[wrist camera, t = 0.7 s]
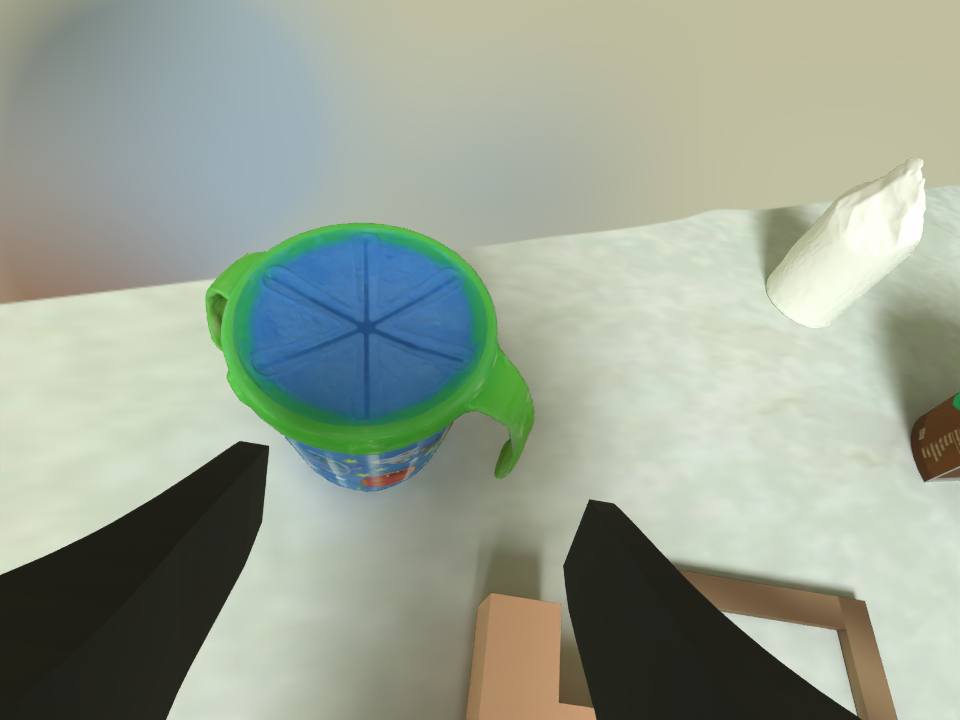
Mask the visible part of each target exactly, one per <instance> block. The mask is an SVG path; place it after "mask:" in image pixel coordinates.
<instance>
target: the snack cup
mask: <svg viewBox="0 0 960 720" xmlns="http://www.w3.org/2000/svg"><path fill="white" fill-rule="evenodd" d="M206 312H207V321H208V327H209V331H210V334H211V339H212V340H213V342H214V343H215V344H216V346H217V347H218V348H219V349H220V350H222V351H223V354H224V357H225V359H226V363H227V366H228V369H229V371H228V374H227V380H228V382H229V384H230V386H231V388H232V390H233V391H234V393H235V394H236V395H237V397H238V398H239V400H240V401H241V402H243V403H244V404H246V405H247V406H249V407H251V408H252V409H253V411H254V412H255V413H256V414H257V415H258V416H259V417H260V418H261V419H262V420H264V421H265V422H267V423H268V424H269V425H271V426H272V427H273V428H274V429H276V430H277V431H278V432H280V433H281V434H282V435H284V436H285V438H286V439H287V440H288V441H289V443H290V444H291V445H292V446H293V447H294V448H295V450H296V451H297V452H298V453H299V454H300V456H301V457H302V458H303V459H304V460H305V461H306V463H307V464H308V465H309V466H310V467H311V468H313V469H314V470H315V471H316V472H317V473H318V474H320V475H321V476H323V477H324V478H326V479H327V480H328V481H330V482H333V483H335V484H337V485H339V486H342V487H347V488H350V489H354V490H363V491H366V492H368V491H378V490H382V489H386V488H388V487H391V486H394V485H397V484H399V483H401V482H403V481H405V480H407V479H408V478H410V477H411V476H413V475H414V474H416V473H417V472H418V471H419V470H420V469H421V468H422V467H423V466H424V465H425V464H426V463H427V462H428V461H429V460H430V459H431V457H432V456H433V454H434V453H435V451H436V449H437V448H438V447H439V445H440V443H441V442H442V440H443V439H444V437H445V435H446V434H447V432H448V430H449V429H450V427H451V425H452V424H453V422H454V420H455V419H457V418H458V417H459V416H461V415H462V414H464V413H466V412H470V411H479V412H481V413H484V414H486V415H489V416H491V417H492V418H494V419H496V420H498V421H499V422H500V423H502V424H504V425H506V426H507V427H508V429H509V433H510V439H509V440H508V441H507V442H506V443H505V444H504V446H503V448H502V450H501V453H500V456H499V459H498V462H497V464H496V469H495V477H496V478H503V477H505V476H506V475H507V474H508V473H509V472H510V471H511V470H512V468H513V467H514V466H515V464H516V463H517V461H518V459H519V456H520V454H521V452H522V450H523V447H524V444H525V442H526V440H527V437H528V434H529V432H530V431H531V428H532V425H533V421H534V407H533V402H532V398H531V395H530V393H529V389H528V387H527V385H526V383H525V381H524V379H523V377H522V376H521V375H520V373H519V371H518V370H517V368H516V367H515V366H514V365H513V364H512V363H511V361H510V360H509V359H508V358H507V357H506V355H505V354H504V353H503V351H502V350H501V349H500V347H499V345H498V341H497V320H496V314H495V308H494V305H493V302H492V299H491V297H490V295H489V292H488V290H487V288H486V287H485V285H484V284H483V282H482V280H481V278H480V277H479V276H478V274H477V273H476V272H475V270H474V269H473V268H472V267H471V266H470V265H469V264H468V263H466V262H465V261H464V260H463V259H462V258H461V257H460V256H459V255H458V254H457V253H455V252H454V251H452V250H451V249H449V248H448V247H446V246H445V245H443V244H441V243H440V242H438V241H435V240H434V239H432V238H430V237H427V236H425V235H422V234H420V233H417V232H414V231H411V230H408V229H405V228H400V227H395V226H389V225H383V224H374V223H349V224H338V225H331V226H326V227H321V228H318V229H314V230H310V231H307V232H304V233H301V234H298V235H296V236H294V237H291V238H289V239H287V240H285V241H283V242H282V243H280V244H278V245H276V246H275V247H273V248H271V249H270V250H268V251H267V252H258V253H253V254H248V253H247V254H246V255H245V256H244V257H242V258H241V259H239V260H237V261H236V262H235V263H234V264H232V265H231V266H230V267H229V268H228V269H227V270H225V271H224V272H223V273H222V274H221V275H220V276H219V277H218V278H217V279H216V280H215V281H214V283H213V284H212V285H211V286H210V288H209V289H208V290H207V293H206Z"/></svg>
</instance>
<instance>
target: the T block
mask: <svg viewBox="0 0 960 720" xmlns="http://www.w3.org/2000/svg"><path fill="white" fill-rule="evenodd" d="M560 636H561V604H559V603H552V602H546V601H540V600H533V599H527V598H521V597H515V596H508V595H502V594H496V593H491V594H490V595H489V596H488V597H487V598H486V599H485V600H484V601H483V602H482V603H481V604H480V605H479V606H478V612H477V622H476V631H475V640H474V649H473V658H472V667H471V676H470V686H469V695H468V704H467V713H466V720H596V716H595V711H594V708H590V707H583V706H576V705H570V704H563V703H559V674H560Z"/></svg>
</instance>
